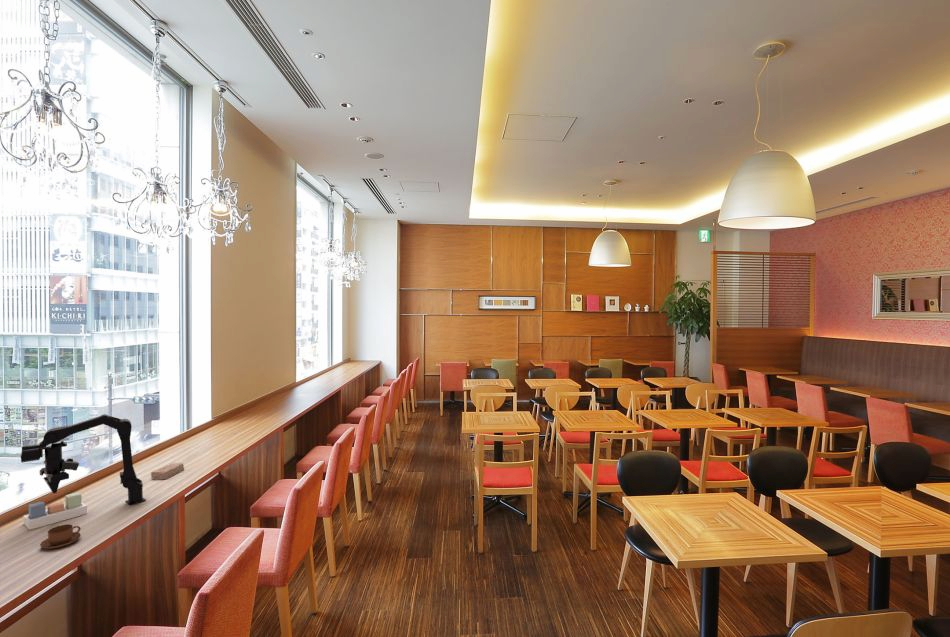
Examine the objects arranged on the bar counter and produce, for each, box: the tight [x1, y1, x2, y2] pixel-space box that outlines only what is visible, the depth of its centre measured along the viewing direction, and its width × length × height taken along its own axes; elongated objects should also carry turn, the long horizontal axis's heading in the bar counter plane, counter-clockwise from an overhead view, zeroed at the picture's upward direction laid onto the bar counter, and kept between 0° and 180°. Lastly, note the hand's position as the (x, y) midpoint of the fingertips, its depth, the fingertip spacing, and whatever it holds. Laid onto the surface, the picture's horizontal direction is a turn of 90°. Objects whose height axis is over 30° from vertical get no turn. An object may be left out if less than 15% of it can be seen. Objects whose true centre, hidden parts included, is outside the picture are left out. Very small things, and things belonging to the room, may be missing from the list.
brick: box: [150, 462, 185, 480], centre depth 266 cm, size 17×8×5 cm, turn 179°
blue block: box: [27, 501, 46, 520], centre depth 206 cm, size 5×5×6 cm
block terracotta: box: [46, 501, 65, 514], centre depth 211 cm, size 5×5×6 cm
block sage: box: [64, 491, 83, 509], centre depth 216 cm, size 5×5×6 cm
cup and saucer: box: [39, 524, 81, 550], centre depth 187 cm, size 12×12×6 cm
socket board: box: [23, 502, 88, 530], centre depth 211 cm, size 10×19×4 cm, turn 144°
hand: (54, 493), depth 211 cm, fingers closed
